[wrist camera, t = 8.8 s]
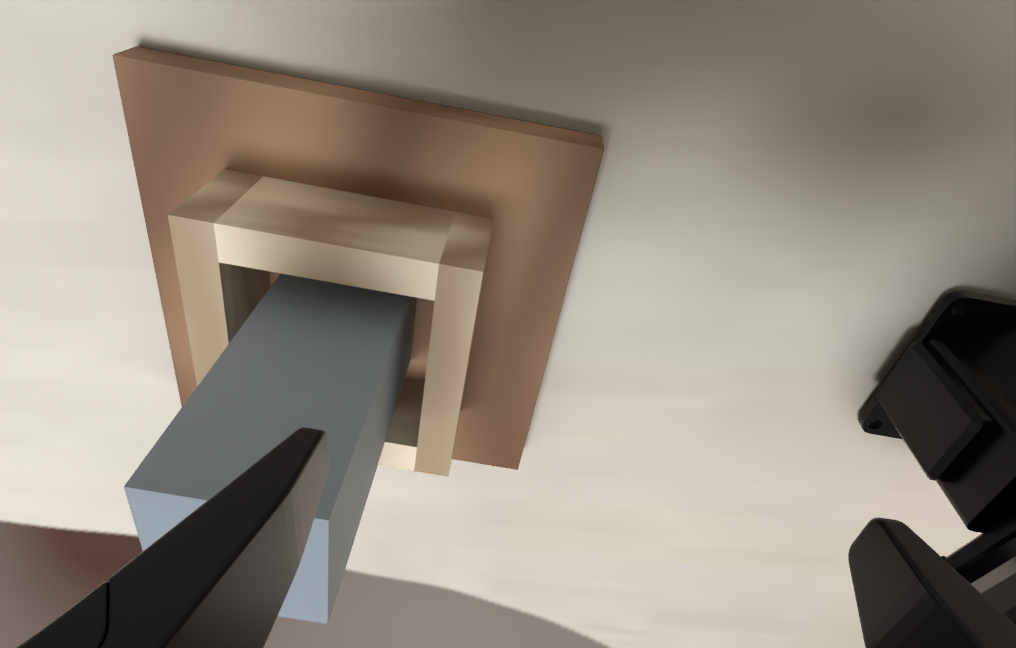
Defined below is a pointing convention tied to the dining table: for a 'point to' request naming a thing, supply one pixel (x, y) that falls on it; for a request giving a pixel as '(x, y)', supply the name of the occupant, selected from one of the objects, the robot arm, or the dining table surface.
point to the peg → (289, 418)
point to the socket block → (363, 231)
